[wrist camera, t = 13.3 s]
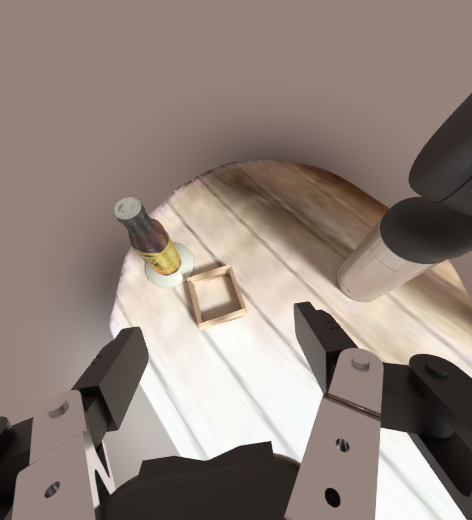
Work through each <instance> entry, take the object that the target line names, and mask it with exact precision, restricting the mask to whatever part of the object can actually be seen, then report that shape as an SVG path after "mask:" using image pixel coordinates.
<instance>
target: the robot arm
mask: <svg viewBox="0 0 472 520" xmlns="http://www.w3.org/2000/svg"><path fill="white" fill-rule="evenodd" d="M409 184H410V187H411V188H412V189H413V190H414V191H415V192H416V193H418V194H419V195H421V196H422V197H412V198H408V199H405V200H402V201H400V202H398V203H396V204H395V205H394V206H393V207H391V208H390V210H389V211H388V212H387V213H386V214H385V215H384V216H383V218H382V219H381V220H380V221H379V222H378V223H377V224H376V226H375V227H374V228H373V229H372V230H371V231H370V233H369V234H368V235H367V236H366V237H365V238H364V240H363V241H362V242H361V243H360V244H359V245H358V246H357V248H356V249H355V250H354V251H353V252H352V253H351V254H350V256H349V257H348V258H347V259H346V260H345V261H344V262H343V264H342V265H341V266H340V267H339V269H338V270H337V274H336V279H337V283H338V285H339V287H340V289H341V290H342V292H343V293H344V294H346V295H347V296H348V297H350V298H351V299H354V300H356V301H360V302H369V301H373V300H375V299H377V298H379V297H381V296H382V295H384V294H386V293H388V292H390V291H391V290H393V289H395V288H397V287H398V286H400V285H402V284H404V283H406V282H407V281H409V280H411V279H413V278H414V277H416V276H418V275H420V274H422V273H423V272H425V271H427V270H428V269H430V268H432V267H434V266H436V265H437V264H439V263H441V262H443V261H445V260H446V259H451V258H456V257H459V256H461V255H464V254H466V253H468V252H470V251H472V93H471V94H470V96H468V98H467V99H466V100H465V101H464V102H463V103H462V104H461V105H460V106H459V107H458V108H457V109H456V110H455V111H454V112H453V114H452V115H451V116H450V117H449V118H448V119H447V120H446V121H445V122H444V123H443V124H442V126H441V127H440V128H439V129H438V130H437V131H436V132H435V134H434V135H433V136H432V137H431V138H430V140H429V141H428V142H427V143H426V145H425V146H424V147H423V149H422V150H421V152H420V153H419V155H418V156H417V158H416V160H415V161H414V164H413V165H412V168H411V170H410V173H409ZM294 320H295V332H296V337H297V340H298V342H299V344H300V346H301V348H302V351H303V353H304V355H305V357H306V359H307V361H308V363H309V365H310V367H311V369H312V371H313V373H314V375H315V377H316V379H317V382H318V384H319V386H320V388H321V390H322V392H323V394H324V395H323V397H322V400H321V403H320V406H319V409H318V412H317V416H316V419H315V422H314V425H313V428H312V431H311V434H310V438H309V441H308V444H307V447H306V450H305V453H304V456H303V460H302V463H299V462H298V461H296V460H294V459H292V458H290V457H288V456H284V455H281V454H276V453H273V449H272V444H271V441H268V442H261V443H255V444H248V445H242V446H238V447H236V448H234V449H232V450H230V451H227V452H225V453H223V454H221V455H219V456H217V457H214V458H212V459H210V460H207V461H202V460H196V459H190V458H184V457H178V456H170V457H164V458H157V459H151V460H145V461H143V462H142V465H141V468H140V471H139V475H137V476H135V477H133V478H132V479H130V480H128V481H127V482H125V483H124V484H123V485H121V486H120V487H119V488H117V490H116V488H115V485H114V481H113V477H112V473H111V468H110V465H109V460H108V456H107V452H106V447H105V444H104V441H103V437H104V435H105V433H106V432H109V431H116V430H118V429H119V428H120V425H121V423H122V421H123V418H124V416H125V414H126V412H127V409H128V407H129V404H130V402H131V400H132V398H133V395H134V393H135V391H136V389H137V386H138V384H139V382H140V380H141V377H142V375H143V373H144V370H145V368H146V366H147V363H148V357H149V355H148V349H147V346H146V343H145V340H144V337H143V334H142V331H141V329H140V327H131V328H124V329H122V330H121V331H120V332H119V334H118V335H117V337H116V338H115V339H114V340H112V341H111V342H110V343H108V344H107V345H106V346H105V347H104V348H102V350H101V351H100V352H99V354H98V355H97V356H96V358H95V359H94V360H93V361H92V363H91V365H90V366H89V367H88V368H87V369H86V371H85V372H84V373H83V375H82V376H81V377H80V379H79V380H78V381H77V382H76V384H75V385H74V386H73V388H72V389H71V390H70V391H66V392H63V393H61V394H59V395H57V396H55V397H54V398H52V399H51V400H49V401H48V402H47V403H45V404H44V405H43V406H42V407H41V408H40V409H39V411H38V412H37V413H36V415H35V416H34V417H33V418H30V419H28V420H25V421H22V422H20V423H17V424H15V425H11V423H10V422H9V420H8V419H7V418H6V417H0V520H375V508H376V492H377V475H378V459H379V443H380V428H386V429H391V430H397V431H402V432H407V433H408V435H409V436H410V438H411V439H412V441H413V442H414V443H415V445H416V446H417V448H418V449H419V451H420V452H421V454H422V455H423V457H424V458H425V459H426V461H427V462H428V464H429V465H430V467H431V468H432V470H433V471H434V473H435V474H436V475H437V477H438V478H439V480H440V481H441V483H442V484H443V486H444V487H445V489H446V490H447V491H448V493H449V494H450V496H451V497H452V499H453V500H454V502H455V503H456V505H457V506H458V507H459V509H460V510H461V512H462V513H463V515H464V516H465V518H466V519H467V520H472V378H471V377H470V376H468V375H467V374H466V373H465V372H463V371H462V370H461V369H460V368H459V367H457V366H456V365H455V364H453V363H451V362H449V361H448V360H446V359H443V358H441V357H438V356H434V355H429V354H417V355H414V356H412V357H411V358H410V361H409V365H401V364H391V363H384V362H381V360H380V359H379V358H378V357H377V356H376V355H374V354H373V353H371V352H369V351H367V350H364V349H359V348H358V347H357V345H356V344H355V343H354V342H353V341H352V340H351V338H350V337H349V336H348V335H347V334H346V332H345V331H344V330H343V329H342V328H341V326H340V325H339V324H338V323H336V321H335V319H334V318H333V317H332V316H331V315H330V314H329V313H327V312H325V311H323V310H315V308H314V307H313V306H312V304H311V303H310V302H309V301H308V302H301V303H295V304H294Z"/></svg>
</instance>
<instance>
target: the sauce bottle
mask: <svg viewBox="0 0 472 520" xmlns="http://www.w3.org/2000/svg"><path fill="white" fill-rule="evenodd" d="M114 215H115V216H116V218H117V219H118V220H119V221H120V222H121V223H123V224H124V225H125V226H126V228H127V230H128V233H129V237H130V241H131V245H132V247H133V248H134V249H135V250H136V251H137V252H138V253H139V254H140V256H141V257H142V258H143V259H144V260H145V261H146V262H147V263H148V264H149V265H150V266H151V267H152V268H153V269H154V270H155V271H156V272H157V273H159V274H161V275H165V276H168V275H171V274H174V273H176V272H177V271H178V269H179V268H180V266H181V258H180V255H179V253H178V251H177V250H176V248H175V246H174V244H173V242H172V241H171V239H170V237H169V235H168V234H167V232H166V231H165V230H164V228H163V226H162V225H161V224H160V223H159V222H158V221H157V220H155V219H152V218H150V217H149V216H148V215H147V213H146V212H145V208H144V206H143V205H142V203H141V202H140V201H139V200H138V199H136V198H133V197H129V198H124V199H122V200H120V201H119V202H118V203H117V204H116V205H115V207H114Z"/></svg>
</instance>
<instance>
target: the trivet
mask: <svg viewBox="0 0 472 520" xmlns="http://www.w3.org/2000/svg"><path fill="white" fill-rule="evenodd" d="M173 244H174V246H175V248H176V250H177V251H178V253H179V255H180V258H181V266H180V268H179V269H178V271H177V272H176V273H174V274H171V275H168V276H165V275H161V274H159V273H157V272H156V271H155V270H154V269H153V268H152V267H151V266H150V265H149V264H148V263H147V262H146V265H145V272H146V275H147V278H148V279H149V280H150V282H152V283H153V284H154V285H156V286H158V287H161V288H173V287H176V286H179V285H180V284H182V283H184V282H185V281H186V280H187V278H189V277H190V275H191V274H192V272H193V269H194V264H195V261H194V257H193V254H192V252H191V251H190V250H189V249H188V248H187V247H186V246H184V245H182V244H179V243H173Z"/></svg>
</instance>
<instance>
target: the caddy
mask: <svg viewBox="0 0 472 520" xmlns="http://www.w3.org/2000/svg"><path fill="white" fill-rule="evenodd" d="M227 274H230V277H231V280H232V283H233V286H234V289H235V291H236V294H237V297H238V300H239V303H240V306H241V310H238V311H235V312H232V313H229V314H227V315H224V316H221V317H218V318H215V319H212V320H209V321H206V322H203V319H202V315H201V311H200V307H199V303H198V299H197V295H196V291H195V287H194V285H196V284H199V283H202V282H206V281H209V280H212V279H215V278H218V277H221V276H224V275H227ZM187 282H188V286H189V290H190V294H191V298H192V303H193V307H194V311H195V315H196V319H197V323H198V327H199V329H200V330H205V329H208V328H211V327H214V326H217V325H220V324H223V323H226V322H228V321H231V320H234V319H237V318H240V317H243V316H246V315H247V310H246V307H245V304H244V301H243V298H242V295H241V293H240V290H239V287H238V284H237V281H236V278H235V276H234V273H233V270H232V267H231V264H229V265H226V266H223V267H220V268H217V269H214V270H211V271H207V272H204V273H201V274H198V275H195V276H192V277H189V278H187Z"/></svg>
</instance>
